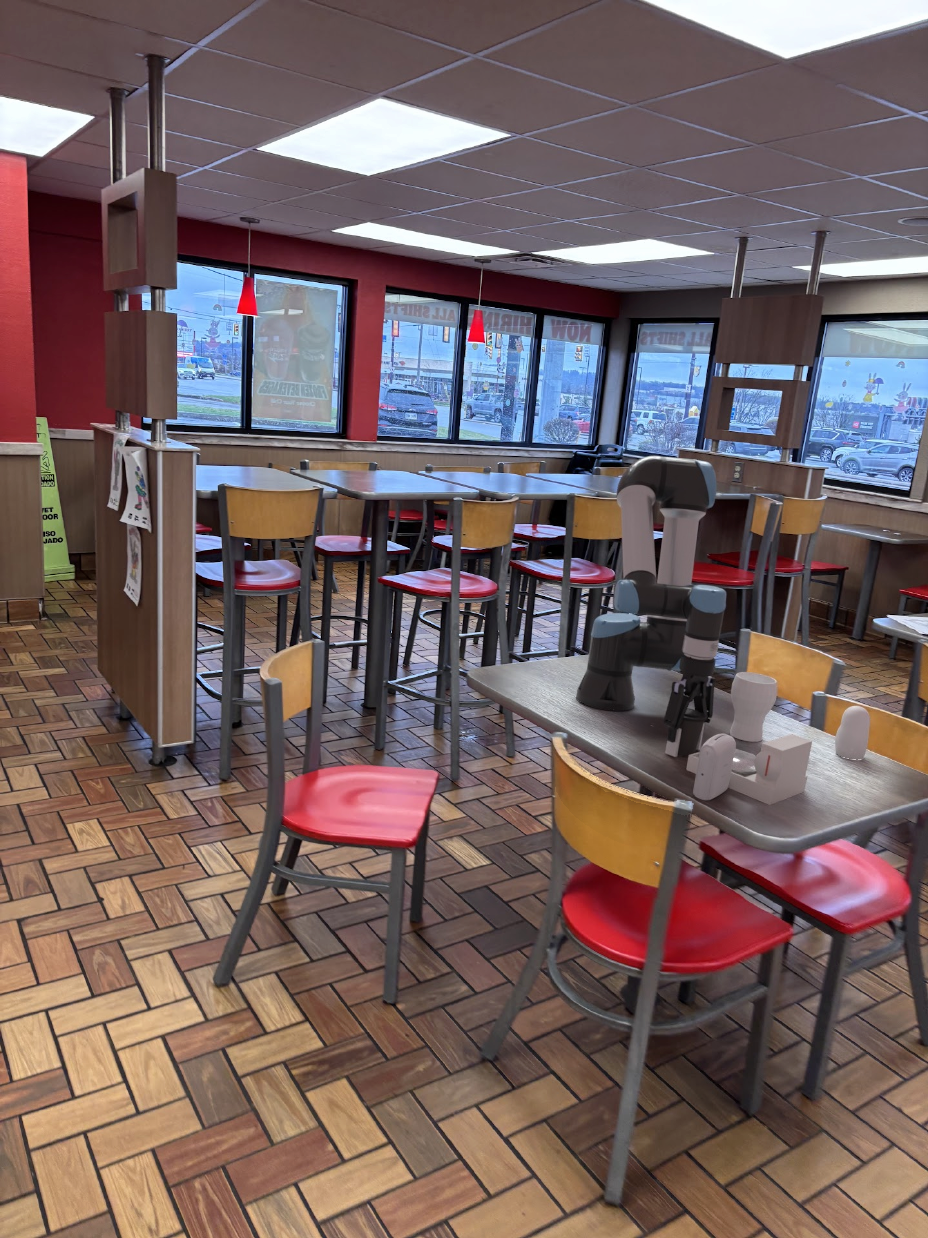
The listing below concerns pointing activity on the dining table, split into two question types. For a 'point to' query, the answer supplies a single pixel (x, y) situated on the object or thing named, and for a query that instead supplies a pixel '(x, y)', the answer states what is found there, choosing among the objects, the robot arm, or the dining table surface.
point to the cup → (751, 704)
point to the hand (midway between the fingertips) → (682, 751)
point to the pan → (743, 762)
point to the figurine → (853, 733)
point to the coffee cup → (690, 732)
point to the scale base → (772, 770)
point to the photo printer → (714, 766)
